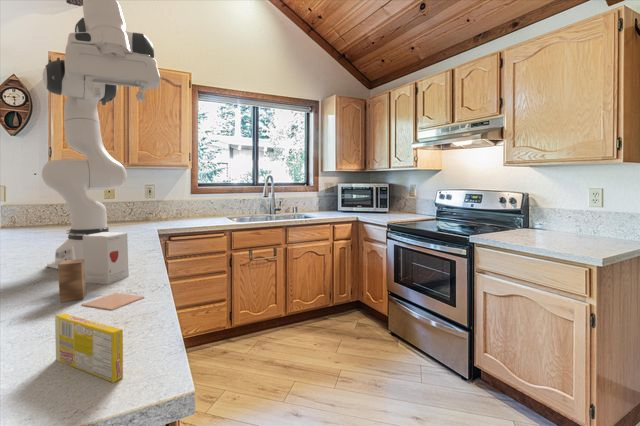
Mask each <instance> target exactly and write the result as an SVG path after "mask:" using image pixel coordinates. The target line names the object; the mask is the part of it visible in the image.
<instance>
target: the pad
mask: <svg viewBox="0 0 640 426" xmlns="http://www.w3.org/2000/svg"><path fill="white" fill-rule="evenodd" d="M144 298H145V296H141V295H134V294H127V293H122V292H114V293H111V294H108V295H105V296H102V297H99V298H96V299H93V300H91V301H88V302H85V303H82V304H81V306H84V307H89V308H95V309H101V310H108V311H114V310H117V309H119V308H121V307H125V306H127V305H130V304H133V303H135V302H137V301H140V300H143V299H144Z"/></svg>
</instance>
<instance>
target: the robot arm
mask: <svg viewBox="0 0 640 426" xmlns="http://www.w3.org/2000/svg"><path fill="white" fill-rule="evenodd" d="M82 11H83V12H82V14H83V17H81V18H80V19H79V20H78V21H77V22H76V24H75V26H74V32H70V33H69V34H68V36H67V44H66V45H65V52H64V53H65V54H64V59H60V58H61V57H57V58H56V60H51V61H49V62H47V64H46V65H45V67H44V69H43V71H42V81H43V83H44V85H45V87H46V90H47V91H48V92H49V93H52V94H55V95H58V96H66V98H65V101H64V102H65V103H64V107H63V124H64V137H65V143H66V145H67V146H68V147H69V148H71V149H72V150H74V151H76V152H78V153H80V154H81V155H83V156H84V157H85V158H86V159H78V158H77V159H74V158H61V159H60V158H59V159H53V160H48V161H47V162H46V163H45V164H44V166H43V167H42V170H41V178H42V180H43V183H44V184H45V185H46V186H47V187H48V188H49V189H51V190H53V191H55V192H56V193H57V194H58V195H60V196H61V198H63V200H64V201H65V202H66V205H67V207H68V210H69V216H70V227H71V228H69V230H66V235H68V236H67V240H66V241H65V242H64V243H62V244H61V245H60V246H59V247H57V248H56V250H55V252H54V261H51V262H49V263H47V264H46V266H47V267H49V268H52V269H55V270H58V264H59V263H60V262H61V261H62V260H76V259H83V235H89V234H95V233H101V232H110V230H109V226H108V222H107V221H108V216H107V207H106V206H105V205H104V204H103V202H100V201H99V200H96V199H94V198H91V197H89V196H87V194H86V192H87V191H109V190H115V189H120V188H122V187H123V186H124V185H126V183H127V179H128V172H127V169H126V168H125V166H124V165H123V164H122V163H121V162H119V161H117V160H116V159H115V158H113V157H112V156H111V155H110V154H109V152H108V151H107V149H106V148H105V145H104V142H103V138H102V132H101V124H100V123H101V122H100V117H99V113H98V104H99V103H100V102H101V105H102V106H106V104H107V103H109V102H112V100H114V99H115V98H116V96H117V93H118V91H119V90H118V89H119V86H120V87H121V86H122V87H132V88H139V90H140V91H137V93H136V98H137V99H136V101H137V102H145V100H146V95H145V94H146V92H147V89H149V90H150V89H151V90H156V89H158V88H159V87H160V85H161V80H162V78H161V75H160V71H159V68H158V62H157V60H156V59H155V58H154V57H155V50H154V49H155V48H154V46H153V43H152V42H151V41H150V39H149V37H147V36H146V35H145V34H144V33H140V32H134V31H133V32H129V31H126V22H125V18H124V15H123V12H122V9H121V6H120V4H119V2H118V0H82Z"/></svg>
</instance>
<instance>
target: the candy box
mask: <svg viewBox="0 0 640 426" xmlns="http://www.w3.org/2000/svg"><path fill="white" fill-rule="evenodd" d="M54 325H55V328H54V329H55V331H54V333H55V335H54V336H55V338H54V339H55V361H58V362H60V363H62V364H65V365H67V366H70V367H73V368H75V369H78V370H80V371H83V372H85V373H88V374H90V375H93V376H95V377H98V378H101V379H103V380H105V381H108V382H111V383H112V384H114V383H116V382H118V381H120V380H121V379H123V378H124V340H123V339H124V334H123V333H124V332H123V331H124V330H123V329H121V328H118V327H115V326H111V325H106V324H103V323H100V322H98V321H97V322H96V321H93V320H89V319H86V318H84V317H79V316H75V315H72V314H69V313H64V312H63V313H61V314H56V315H55V316H54Z"/></svg>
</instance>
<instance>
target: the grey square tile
mask: <svg viewBox="0 0 640 426" xmlns="http://www.w3.org/2000/svg"><path fill="white" fill-rule="evenodd" d="M101 296H102V295H101V294H97V293H96V294H95V293H89V292H86V296H85V297H84V299H83V300H79V301H70V302H62V303H60V296H59V297H56V298H52V299H50V300H49V299H48V300H46V301H45V300H44V303H48V304H54V305H59V306H66V307H71V306H73V305H76V304H80V303H83V302H86V301H88V300H92V299H95V298H98V297H101Z"/></svg>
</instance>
